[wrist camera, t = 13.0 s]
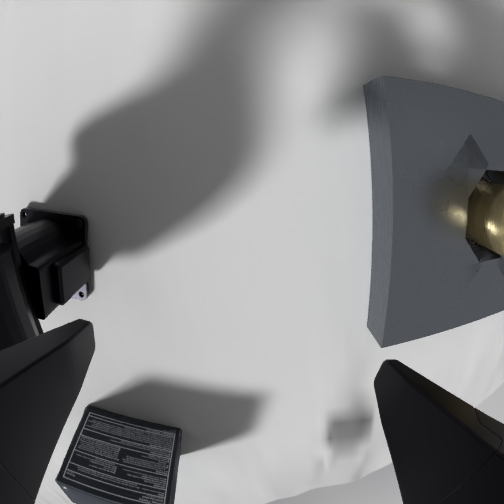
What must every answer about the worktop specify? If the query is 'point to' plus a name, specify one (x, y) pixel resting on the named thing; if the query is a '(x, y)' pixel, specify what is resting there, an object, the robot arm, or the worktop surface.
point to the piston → (486, 216)
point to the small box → (120, 461)
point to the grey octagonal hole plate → (430, 207)
